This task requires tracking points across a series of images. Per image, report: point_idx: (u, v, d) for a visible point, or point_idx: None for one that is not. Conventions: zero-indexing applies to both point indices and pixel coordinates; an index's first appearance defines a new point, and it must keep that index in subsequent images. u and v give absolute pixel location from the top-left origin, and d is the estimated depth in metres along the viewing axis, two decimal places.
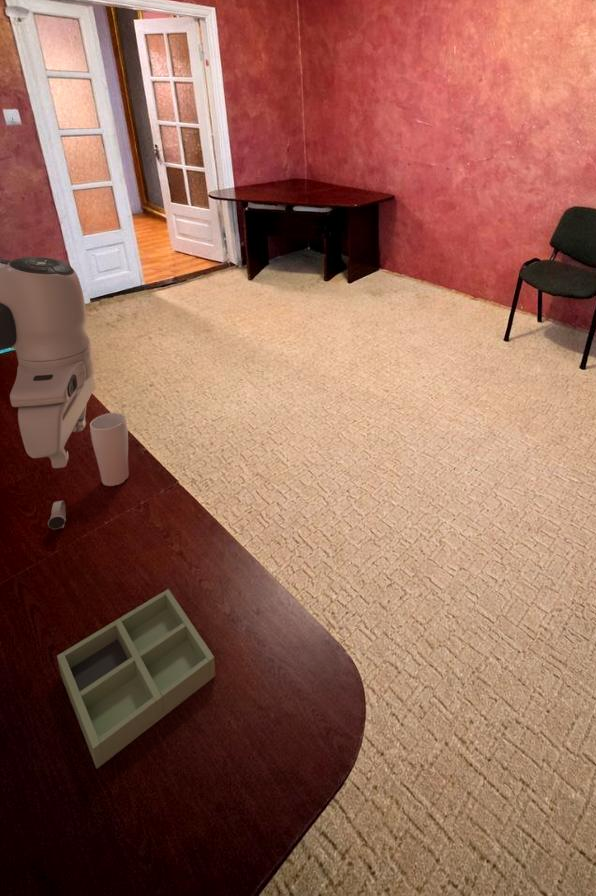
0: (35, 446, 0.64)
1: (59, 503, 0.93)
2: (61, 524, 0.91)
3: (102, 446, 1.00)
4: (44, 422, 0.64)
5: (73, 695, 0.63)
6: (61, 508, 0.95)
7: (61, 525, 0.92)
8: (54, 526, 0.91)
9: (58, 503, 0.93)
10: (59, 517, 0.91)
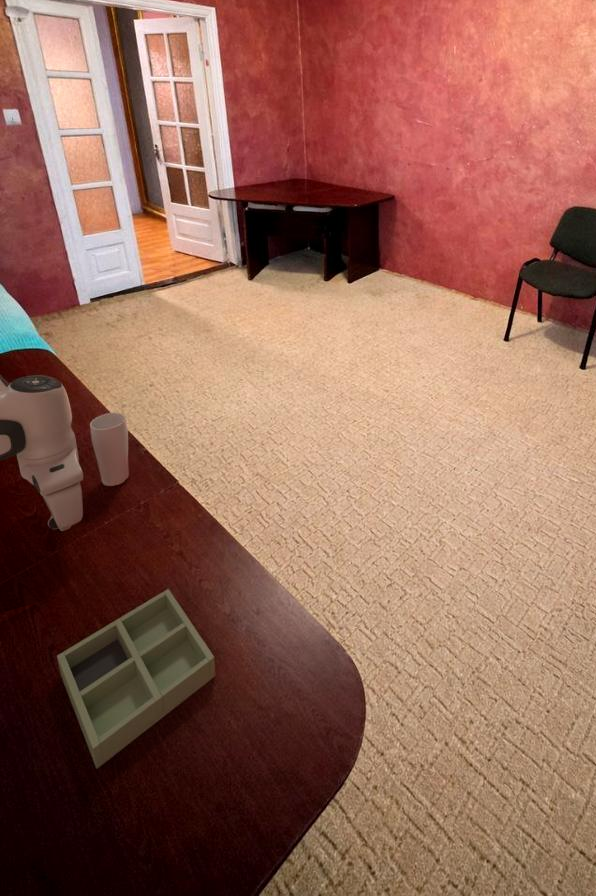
0: (66, 519, 0.84)
1: None
2: None
3: (102, 446, 1.00)
4: (71, 499, 0.85)
5: (73, 695, 0.63)
6: None
7: None
8: (54, 526, 0.91)
9: None
10: None
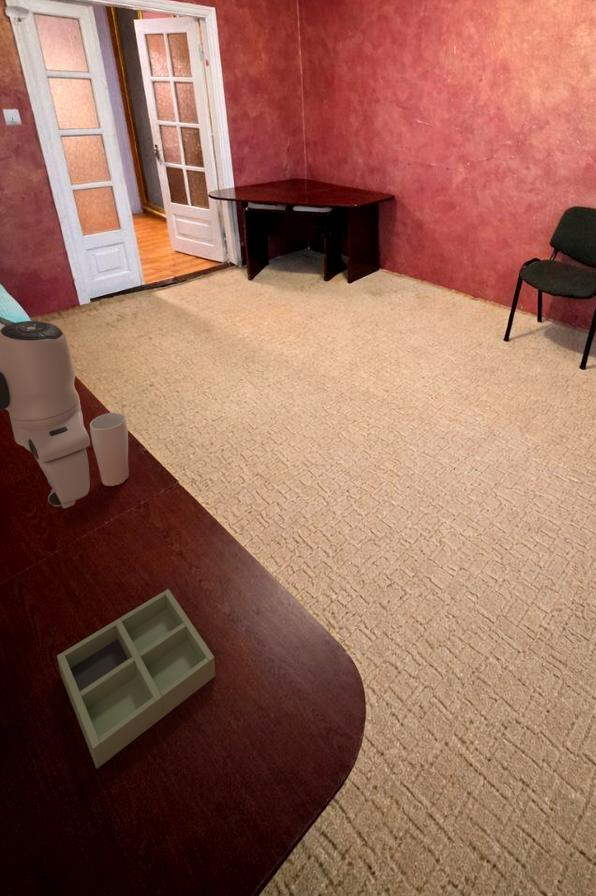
0: (70, 491, 0.71)
1: None
2: None
3: (102, 446, 1.00)
4: (75, 468, 0.71)
5: (73, 695, 0.63)
6: None
7: None
8: (55, 502, 0.77)
9: None
10: None
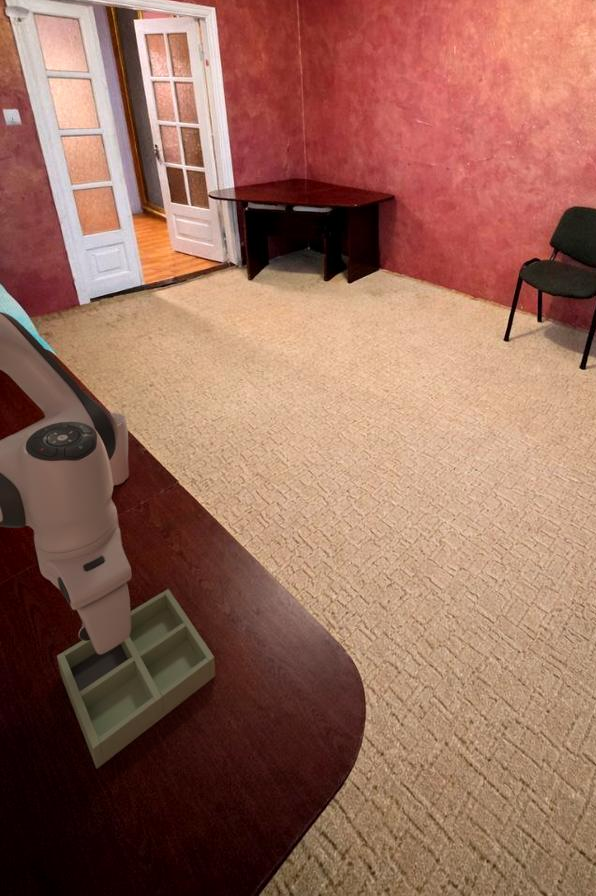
0: (108, 640, 0.57)
1: None
2: None
3: None
4: (115, 610, 0.57)
5: (73, 695, 0.63)
6: None
7: None
8: (87, 637, 0.64)
9: None
10: None
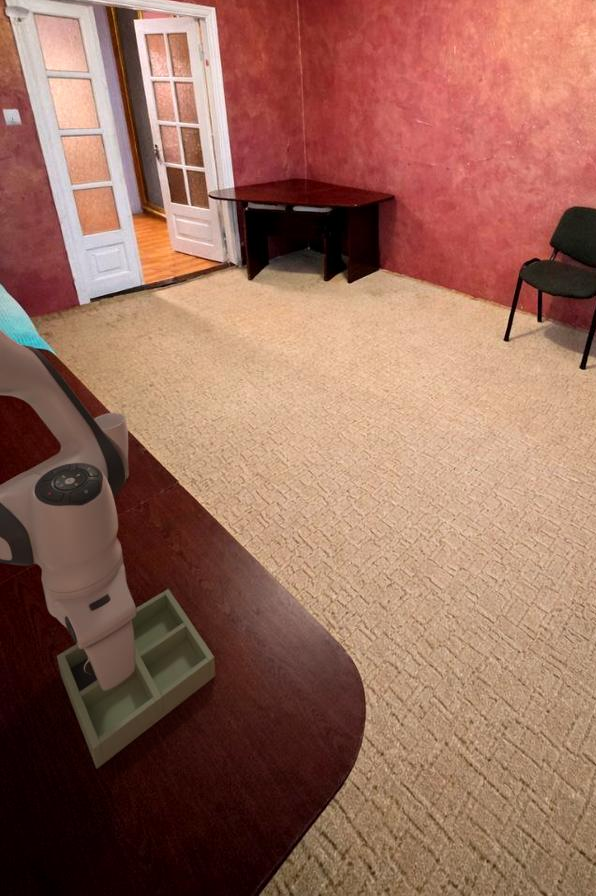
0: (113, 677, 0.59)
1: None
2: None
3: None
4: (120, 648, 0.59)
5: (73, 695, 0.63)
6: None
7: None
8: (92, 670, 0.66)
9: None
10: None
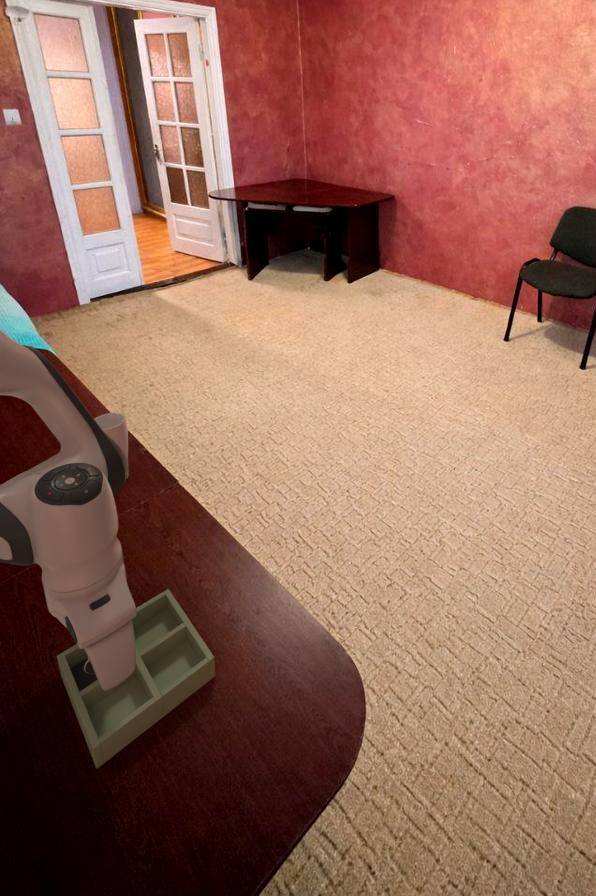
0: (113, 676, 0.59)
1: None
2: None
3: None
4: (120, 648, 0.59)
5: (73, 695, 0.63)
6: None
7: None
8: (93, 670, 0.66)
9: None
10: None
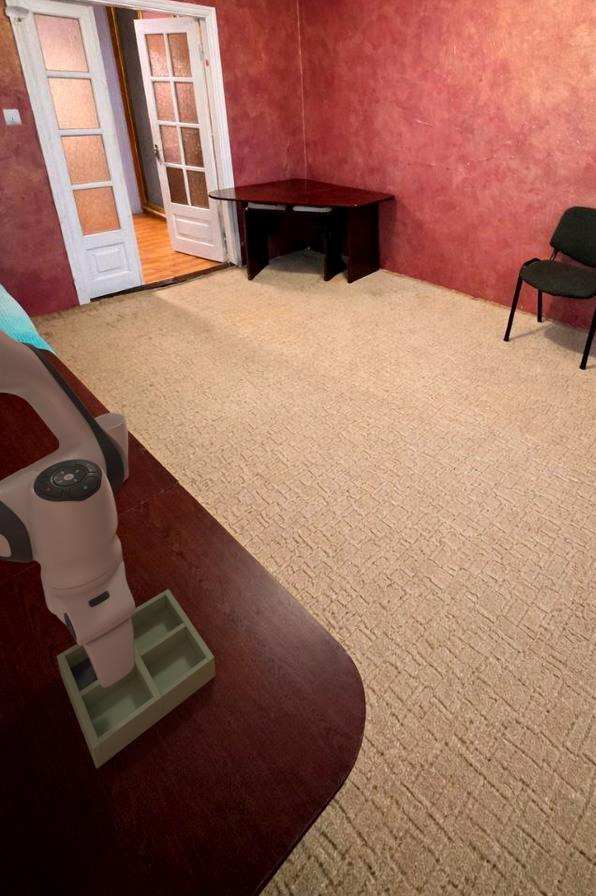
0: (113, 673, 0.59)
1: None
2: None
3: None
4: (119, 645, 0.59)
5: (73, 695, 0.63)
6: None
7: None
8: None
9: None
10: None
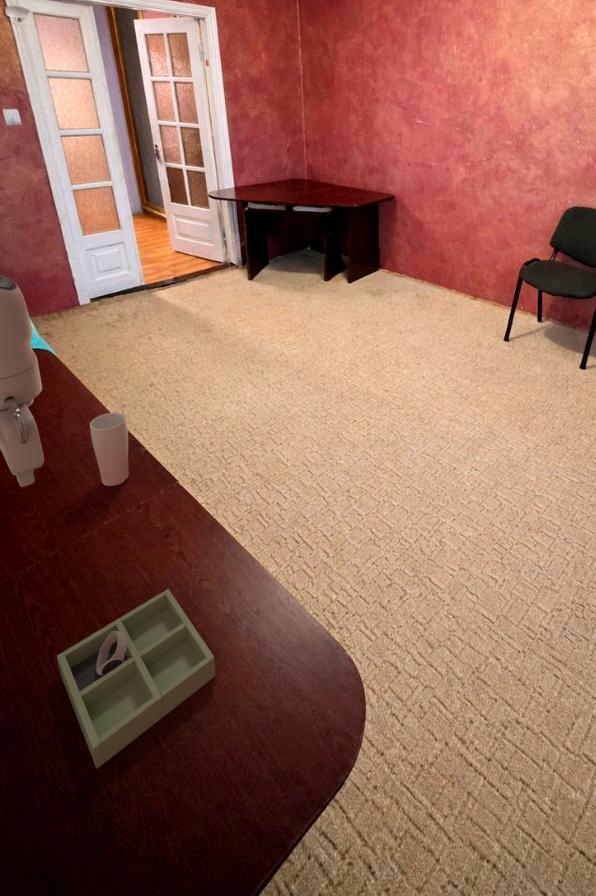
0: None
1: (125, 638, 0.69)
2: None
3: (102, 446, 1.00)
4: None
5: (73, 695, 0.63)
6: (111, 641, 0.70)
7: None
8: (106, 672, 0.66)
9: (123, 637, 0.69)
10: (121, 661, 0.67)
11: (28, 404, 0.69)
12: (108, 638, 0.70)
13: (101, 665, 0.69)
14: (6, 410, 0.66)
